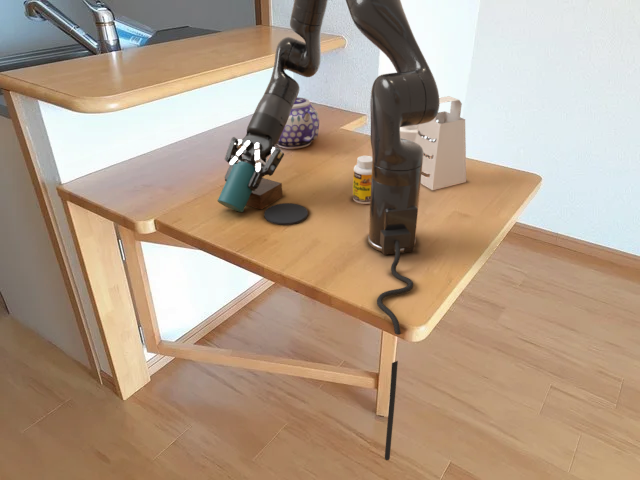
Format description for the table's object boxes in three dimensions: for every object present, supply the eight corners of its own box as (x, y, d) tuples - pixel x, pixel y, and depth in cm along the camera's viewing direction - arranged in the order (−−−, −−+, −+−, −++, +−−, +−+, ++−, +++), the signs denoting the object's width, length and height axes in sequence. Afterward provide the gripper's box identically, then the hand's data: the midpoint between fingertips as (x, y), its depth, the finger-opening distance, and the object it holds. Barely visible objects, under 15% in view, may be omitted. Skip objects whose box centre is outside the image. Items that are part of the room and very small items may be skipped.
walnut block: (261, 209, 118) (260, 195, 117) (234, 201, 122) (232, 187, 121) (282, 196, 124) (281, 183, 122) (256, 189, 128) (255, 175, 126)
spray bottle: (235, 222, 113) (228, 165, 107) (214, 215, 116) (207, 159, 110) (269, 201, 122) (265, 147, 115) (249, 195, 125) (245, 142, 118)
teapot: (338, 150, 150) (338, 98, 143) (291, 161, 144) (289, 107, 136) (296, 127, 169) (294, 80, 162) (252, 135, 162) (249, 86, 155)
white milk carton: (417, 156, 146) (421, 114, 140) (392, 155, 147) (394, 112, 141) (418, 147, 152) (422, 106, 146) (394, 146, 153) (396, 105, 147)
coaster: (311, 222, 113) (311, 220, 113) (267, 227, 111) (266, 225, 111) (303, 203, 121) (303, 201, 121) (262, 207, 120) (262, 205, 119)
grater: (406, 175, 135) (413, 97, 125) (439, 167, 139) (448, 91, 129) (432, 190, 127) (441, 108, 117) (466, 181, 131) (477, 101, 121)
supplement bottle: (348, 201, 122) (349, 160, 116) (359, 192, 126) (360, 152, 121) (370, 207, 119) (372, 164, 114) (380, 197, 123) (382, 156, 118)
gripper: (236, 106, 119) (205, 172, 116) (287, 116, 112) (256, 186, 109) (253, 122, 125) (224, 185, 123) (302, 133, 118) (273, 200, 116)
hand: (239, 185), depth 116 cm, fingers closed on spray bottle, 6 cm apart
